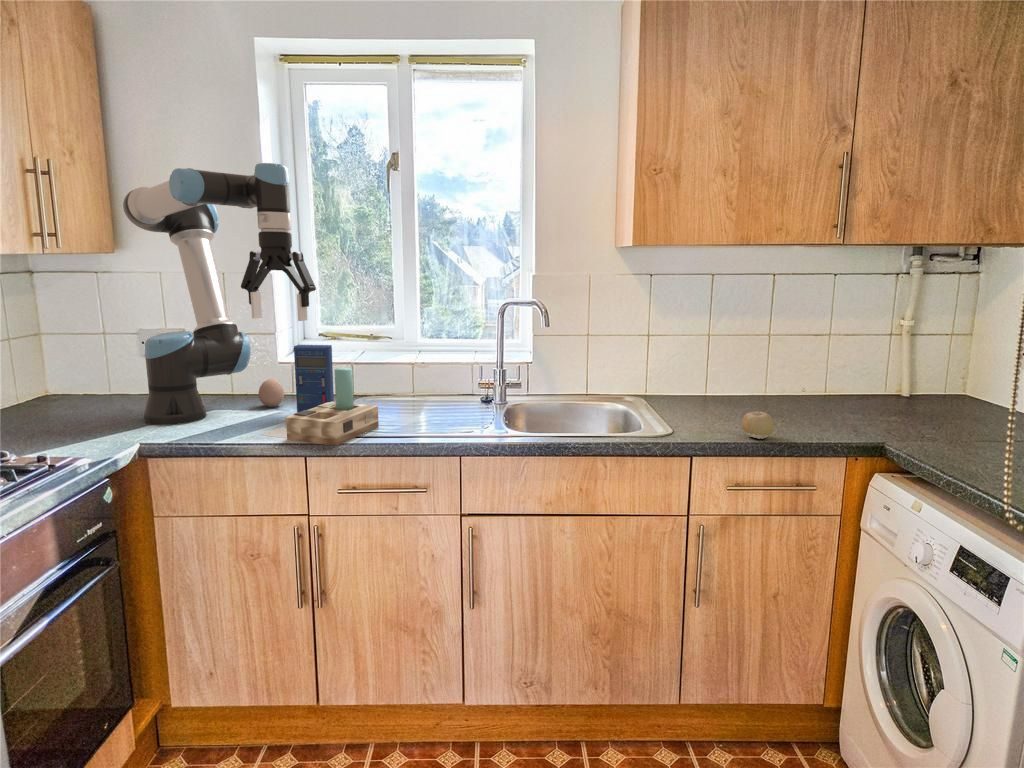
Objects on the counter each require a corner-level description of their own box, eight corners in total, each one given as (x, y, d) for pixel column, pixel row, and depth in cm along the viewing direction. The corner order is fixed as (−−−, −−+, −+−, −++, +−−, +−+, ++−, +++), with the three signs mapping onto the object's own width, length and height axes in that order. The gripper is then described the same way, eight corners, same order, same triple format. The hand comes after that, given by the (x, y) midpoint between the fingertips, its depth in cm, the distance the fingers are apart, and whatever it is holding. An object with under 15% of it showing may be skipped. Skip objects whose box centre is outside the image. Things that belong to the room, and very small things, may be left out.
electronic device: (296, 418, 179) (292, 346, 175) (301, 413, 184) (298, 344, 180) (330, 418, 179) (327, 347, 175) (335, 414, 184) (332, 344, 180)
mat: (259, 436, 160) (259, 434, 160) (280, 428, 167) (280, 427, 167) (286, 439, 157) (286, 438, 157) (306, 431, 165) (306, 430, 165)
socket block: (287, 441, 156) (285, 415, 155) (332, 423, 174) (332, 400, 173) (337, 447, 152) (336, 421, 150) (379, 428, 169) (378, 404, 168)
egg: (254, 406, 192) (252, 379, 190) (276, 402, 197) (275, 376, 195) (267, 410, 187) (265, 382, 186) (289, 406, 192) (288, 379, 191)
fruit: (772, 436, 167) (775, 406, 166) (771, 443, 161) (774, 412, 159) (742, 432, 170) (744, 403, 169) (739, 439, 164) (742, 409, 162)
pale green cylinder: (333, 423, 165) (330, 370, 163) (342, 419, 170) (340, 367, 167) (347, 425, 164) (346, 371, 161) (357, 421, 168) (355, 368, 165)
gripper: (221, 230, 156) (227, 318, 160) (309, 230, 148) (313, 322, 152) (243, 231, 163) (249, 316, 167) (328, 231, 155) (331, 320, 159)
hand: (279, 319), depth 159 cm, fingers open, 13 cm apart
